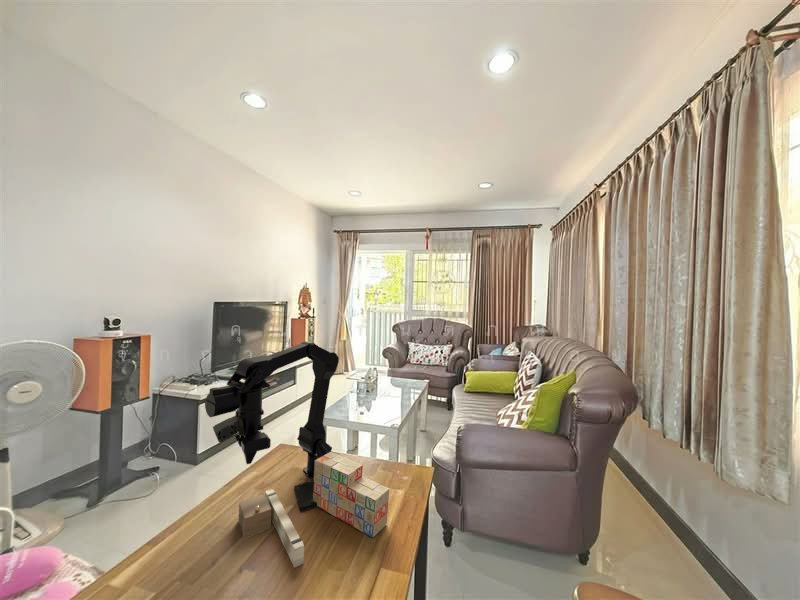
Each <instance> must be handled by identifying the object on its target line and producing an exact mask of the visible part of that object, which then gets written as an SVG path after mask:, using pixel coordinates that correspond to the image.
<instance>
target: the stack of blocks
mask: <svg viewBox="0 0 800 600" xmlns="http://www.w3.org/2000/svg"><path fill="white" fill-rule="evenodd" d="M313 480H314V493H313V501H315V502H316V503H317V506H316V507H319V508H320V509H322V510H323V511H325V512H327V513H329V514H331V515H332V516H333V517H336V518H338V519H340V520H342V521H343V522H345V523H347V524H348V525H350V526H351V527H353V528H355V529H357V530H358V531H360V532H362V533H363V534H365V535H367V536H369V537H371V538H374V537H375V536H376V535H377V534H378V533H379V532H381V531H382V529H384V528H385V526H387V524H388V513H389V511H388V510H389V499H390V487H387V486H384V485H382V484H380V483H378V482H376V481H374V480H372V479H369V478H367V477H365V476H363V464H361V463H358V462H356V461H353V460H351V459H349V458H346V457H345V456H341V455H339V454H337V453H335V452H332V451H331V452H329V453H328V454H326V455H324V456H322V457H320V458H318V459H316V460H315V470H314V478H313Z"/></svg>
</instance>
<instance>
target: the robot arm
mask: <svg viewBox="0 0 800 600" xmlns="http://www.w3.org/2000/svg"><path fill="white" fill-rule="evenodd" d="M305 358H307V359H308V360H311V361H312V367H311V368H312V372H313V375H314V381H313V382H314V383H313V388H312V393H311V394H312V395H311V401H310V406H309V411H308V412H309V413H308V416H307V418H308V419H307V422H306V423H305V424H304V426H299V431H298V436H297V438H296V440H297V441H298V446H300V447H301V449H302V451H303V452H305V453H307V460H306V461H307V462H306V463H307V465H306V466H305V467H303V468H302V469H303V471H304V473H305V474H306V476H307V477H308V478H309V479H314V470H315V460H316V459H318V458H320V457H322V456H324V455H326V454H328V453H329V452H332V450H333V447H332V446H331V445H330V444H328V443H327V442H326V441H327V440H326V439H327V437H326V436H327V433H326V429H325V426H324V425H325V424H324V420H325V411H326V408H327V401H328V396H329V395H328V394H329V388H330V383H331V379H332V377H333V376H334V374H336V373H337V372H336V371H337V368H338V365H339V362H340V357H339V356H338V354H337V353H335V352H333V351H329V350H326V349H325V348H323V347H321V346H319V345H317V344H316V343H314V342H311V341H303V342H300V344H296V345H293V346H291V347H288V348H285V349H283V350H280V351H278V352H274V353H272V354H269V355H263V356H254V357H247V358H243V359H242V360H240V361H239V362H238V364H237V366H236V369H235V371H234V372H233V374H232V375H231V376H230V377H229V379H228V381H227V382H226V385H225V386H220V387H211V388H209V393H208V394H207V395H206V398H205V400H204V408H205V411H206V412H205V413H206V416H208V417H209V418H214V417H218V416H221V415H225V414H229V413H233V412H235V415H233V416H232V417H231V416H230V417H229V418H226V419H224V420H222V421H221V422H219V423H217V424H215V425H213V426H212V429H213V432H214V434H215V437H216V439H217V441H218V443H223V442H225V441H227V440H228V439H231V438H232V437H234V438H235V439H236V441H237V443H238V446H239V447H240V448H241V450H242V454H243V456H244V460H245V464H246V465H251V464H252V463H253V460H254V458H255V457H256V455H257V453H258V452H260V451H263V450H267V449H270V448H271V445H272V443H271V438H270V437H269V436H268V434H267V433H265V432H262V431H263V430H264V425H263V424H262V415H264V414H265V413H264V409H263V390H264V389H267V388H271V384H270V383H268V382H267V381H266V379H267V378H269V377H270V376H271V375H272V374H273V373H274V372H275V371H276V370H279V369H281V368H283V367H285V366H288V365H290V364H293V363H296V362H298V361H300V360H302V359H305ZM241 380H243V381H241Z"/></svg>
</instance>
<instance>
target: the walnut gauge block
mask: <svg viewBox="0 0 800 600" xmlns="http://www.w3.org/2000/svg"><path fill="white" fill-rule="evenodd" d="M238 523H239V526H240V530H241V533H242V536H243V538H244V539H248V538H249V537H252V536H254V535H257V534H260V533H262V532H265V531H267V530H270V529H271V528H272V520H271V507H270V505H269V503H268V501H267V499H266V497H265V493H263V494H260V495H257V496H254V497H251V498H248V499H245V500H241V501H239V502H238Z"/></svg>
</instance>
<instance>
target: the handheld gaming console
mask: <svg viewBox="0 0 800 600" xmlns="http://www.w3.org/2000/svg"><path fill="white" fill-rule="evenodd" d="M293 489H294V492H295V496H296V501H297V503H298V508H299V511H300V512H303V511H305V510H308V509H312V508H315V507H318V506H317V503H316V502H315V501H313V493H314V479H312V480H311V481H308V482H304V483H300V484H297V485H294V487H293Z"/></svg>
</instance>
